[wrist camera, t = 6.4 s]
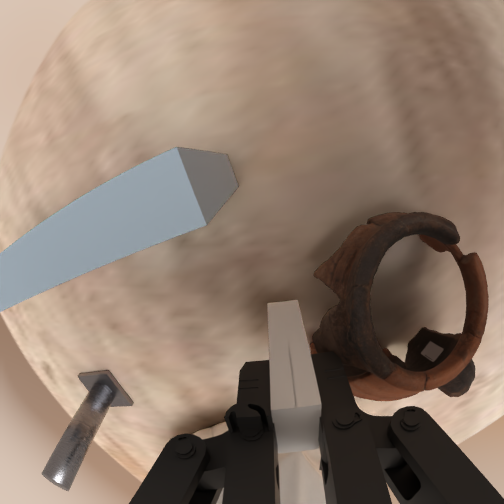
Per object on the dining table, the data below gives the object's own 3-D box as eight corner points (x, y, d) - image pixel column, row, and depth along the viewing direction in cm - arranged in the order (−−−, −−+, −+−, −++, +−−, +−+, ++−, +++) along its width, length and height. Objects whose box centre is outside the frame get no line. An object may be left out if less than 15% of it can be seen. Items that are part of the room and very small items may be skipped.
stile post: (108, 370, 18) (50, 471, 8) (133, 402, 19) (91, 501, 9) (79, 373, 18) (22, 460, 9) (103, 403, 19) (59, 490, 10)
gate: (44, 271, 15) (-47, 338, 6) (34, 249, 14) (-62, 308, 6) (238, 186, 13) (197, 236, 5) (227, 154, 12) (162, 145, 4)
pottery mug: (260, 332, 16) (272, 351, 8) (340, 211, 18) (396, 146, 10) (398, 417, 15) (469, 458, 7) (458, 305, 17) (538, 295, 9)
